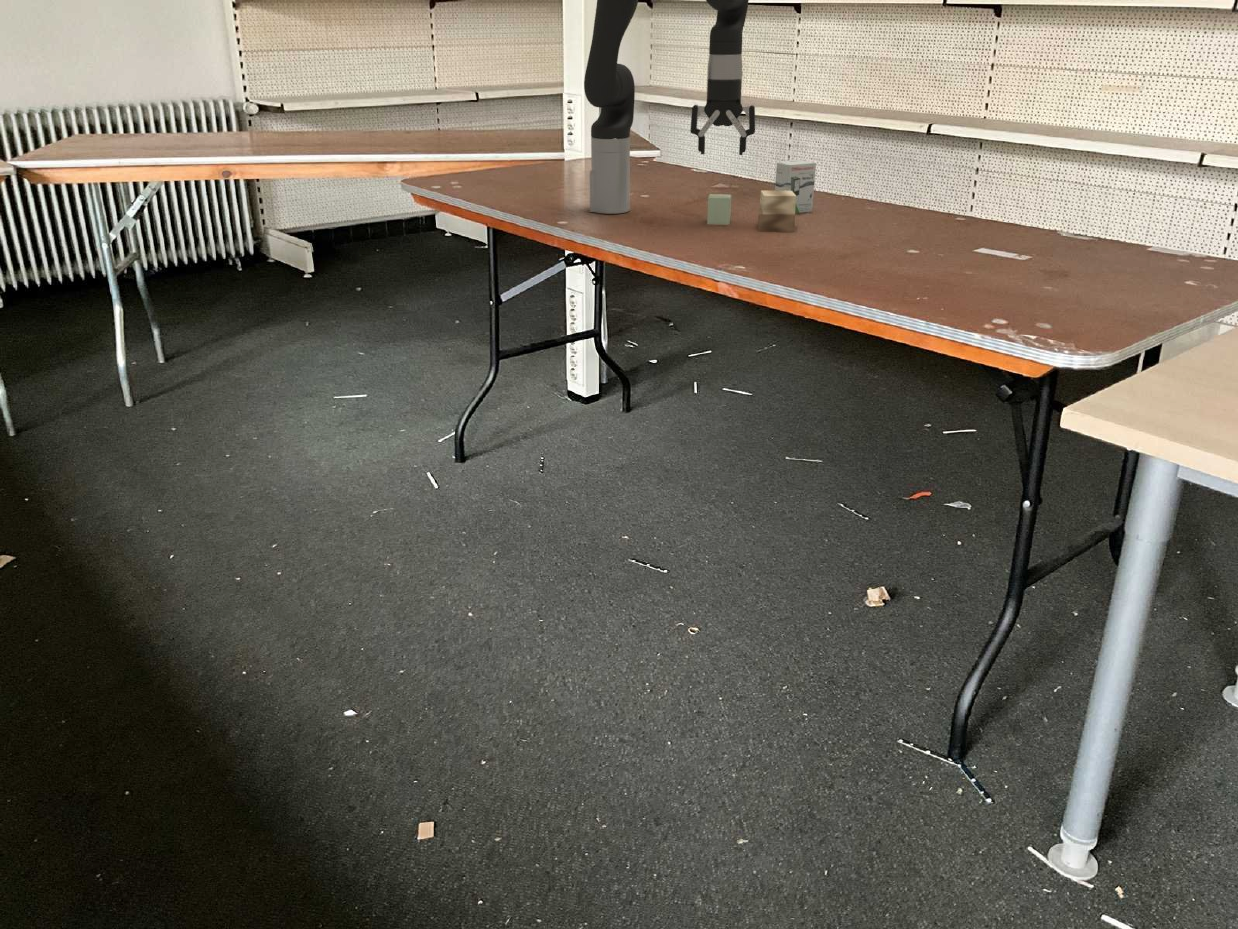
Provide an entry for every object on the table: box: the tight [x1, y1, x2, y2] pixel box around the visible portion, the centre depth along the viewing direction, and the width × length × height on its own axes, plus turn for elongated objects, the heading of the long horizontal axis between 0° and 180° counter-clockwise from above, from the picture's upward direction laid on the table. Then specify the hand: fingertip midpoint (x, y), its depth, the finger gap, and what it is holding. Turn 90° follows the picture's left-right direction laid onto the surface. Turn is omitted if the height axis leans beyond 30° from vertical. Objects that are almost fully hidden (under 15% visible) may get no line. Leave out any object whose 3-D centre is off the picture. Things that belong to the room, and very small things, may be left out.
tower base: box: [757, 208, 796, 233], centre depth 219 cm, size 8×8×4 cm
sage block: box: [706, 193, 732, 226], centre depth 224 cm, size 5×5×6 cm
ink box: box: [774, 159, 817, 214], centre depth 234 cm, size 9×5×12 cm, turn 119°
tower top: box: [759, 189, 796, 216], centre depth 217 cm, size 7×7×4 cm
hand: (721, 154), depth 219 cm, fingers open, 8 cm apart
